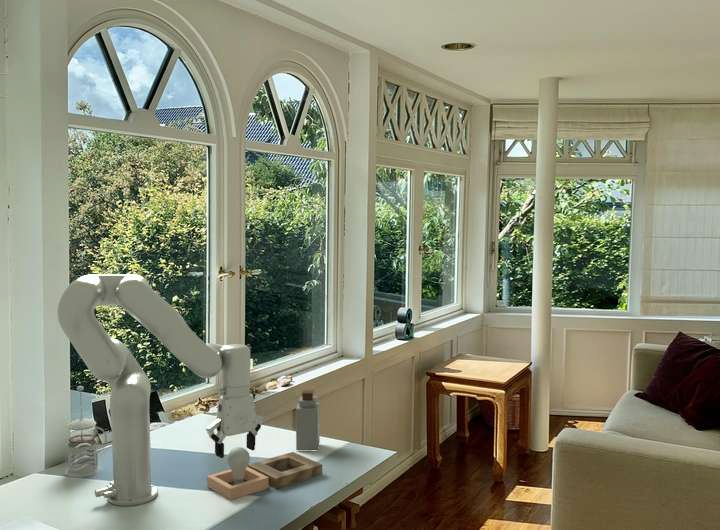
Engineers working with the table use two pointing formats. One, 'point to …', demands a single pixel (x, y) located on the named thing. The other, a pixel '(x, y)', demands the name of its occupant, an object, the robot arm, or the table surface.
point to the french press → (83, 448)
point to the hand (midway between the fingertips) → (235, 452)
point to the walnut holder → (299, 472)
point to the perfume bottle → (307, 422)
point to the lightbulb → (238, 463)
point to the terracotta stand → (252, 484)
